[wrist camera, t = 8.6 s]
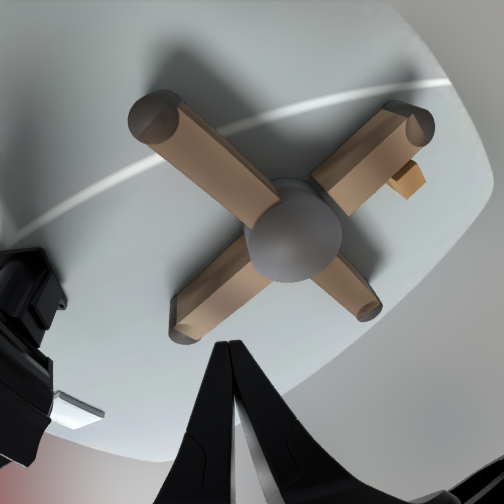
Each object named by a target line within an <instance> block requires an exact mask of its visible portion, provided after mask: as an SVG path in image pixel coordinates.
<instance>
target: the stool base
mask: <svg viewBox="0 0 504 504" xmlns="http://www.w3.org/2000/svg"><path fill="white" fill-rule="evenodd" d="M128 127H129V130H130V132H131V134H132V135H133V136H134V137H135V138H136V139H137V140H138V141H140V142H142V143H145V144H146V145H148V146H149V147H150V148H151V149H153V150H154V151H155V152H156V153H158V154H159V155H160V156H161V157H163V158H164V159H165V160H167V161H168V162H169V163H170V164H172V165H173V166H174V167H175V168H177V169H178V170H179V171H180V172H182V173H183V174H184V175H185V176H187V177H188V178H189V179H190V180H192V181H193V182H194V183H195V184H196V185H198V186H199V187H200V188H201V189H203V190H204V191H205V192H206V193H208V194H209V195H210V196H211V197H213V198H214V199H215V200H216V201H217V202H219V203H220V204H221V205H222V206H224V207H225V208H226V209H227V210H228V211H230V212H231V213H232V214H233V215H235V216H236V217H237V218H238V219H239V220H241V222H242V228H243V232H244V233H243V234H242V235H241V236H240V237H239V238H238V239H237V240H236V241H235V242H233V243H232V244H231V245H230V246H229V247H228V248H227V249H226V250H225V251H224V252H223V253H222V254H220V255H219V256H218V257H217V258H216V259H215V260H214V261H213V262H212V263H211V264H210V265H209V266H208V267H207V268H205V269H204V270H203V271H202V272H201V273H200V274H199V275H198V276H197V277H196V278H195V279H194V280H193V281H192V282H190V283H189V284H188V285H187V286H186V287H185V288H184V289H183V290H182V291H181V292H180V293H179V294H178V295H176V296H174V297H173V298H172V299H171V301H170V314H169V333H168V334H169V337H170V339H171V340H172V341H174V342H175V343H178V344H182V345H190V344H194V343H196V342H198V341H199V340H200V339H201V337H203V336H204V335H205V334H207V333H208V332H209V331H211V330H212V329H213V328H214V327H216V326H217V325H218V324H220V323H221V322H222V321H223V320H225V319H226V318H227V317H229V316H230V315H231V314H232V313H234V312H235V311H236V310H238V309H239V308H240V307H241V306H243V305H244V304H245V303H246V302H248V301H249V300H250V299H251V298H253V297H254V296H255V295H256V294H258V293H259V292H260V291H261V290H263V289H264V288H265V287H266V286H268V285H269V284H270V283H271V282H273V281H277V282H284V283H291V282H298V281H302V280H306V279H308V278H310V279H312V280H313V281H314V282H315V283H316V284H317V285H319V286H320V287H321V288H322V289H323V290H325V291H326V292H327V293H328V294H329V295H330V296H332V297H333V298H334V299H335V300H336V301H338V302H339V303H340V304H341V305H342V306H343V307H345V308H346V309H347V310H348V311H349V312H350V313H352V314H353V315H354V316H355V317H356V318H357V320H358V321H360V322H367V321H370V320H372V319H374V318H375V317H376V316H377V315H378V314H379V313H380V312H381V310H382V307H383V305H382V303H381V301H380V300H379V298H378V296H377V295H376V293H375V292H374V290H373V289H372V287H371V286H370V284H369V283H368V281H367V280H366V278H364V277H363V276H362V275H361V274H360V273H359V272H358V271H357V270H356V269H355V268H354V267H353V265H352V264H351V263H350V262H349V261H348V260H347V259H346V258H345V257H344V256H343V255H342V253H341V252H340V251H339V249H340V246H341V243H342V226H341V223H340V221H339V219H338V217H337V215H336V214H335V213H334V212H333V210H332V209H331V208H330V207H329V206H328V204H327V203H326V202H325V201H324V200H323V198H322V197H321V196H320V195H319V194H318V192H317V191H316V190H315V189H314V188H313V187H312V186H311V185H309V184H308V183H306V182H304V181H302V180H299V179H294V178H280V179H275V180H272V181H270V180H269V179H268V178H267V177H266V176H265V175H264V174H263V173H261V172H260V171H259V170H258V169H257V168H256V167H255V166H254V165H253V164H252V163H251V162H250V161H249V160H248V159H247V158H245V157H244V156H243V155H242V154H241V153H240V152H239V151H238V150H237V149H236V148H235V147H234V146H232V145H231V144H230V143H229V142H228V141H227V140H226V139H225V138H224V137H222V136H221V135H220V134H219V133H218V132H217V131H216V130H215V129H213V128H212V127H211V126H210V125H209V124H208V123H207V122H205V121H204V120H203V119H202V118H201V117H200V116H198V115H197V114H196V113H195V112H194V111H193V110H191V109H190V108H189V107H188V106H187V105H186V104H184V103H183V102H182V101H181V99H180V98H179V97H178V96H177V95H176V94H175V93H173V92H171V91H167V90H161V91H156V92H154V93H151V94H149V95H146V96H144V97H142V98H140V99H139V100H138V101H136V102H135V104H134V105H133V106H132V108H131V109H130V112H129V115H128ZM424 183H426V181H425V178H424V176H423V174H422V172H421V170H420V168H419V166H418V164H417V163H416V162H414V161H413V160H411V159H410V160H409V161H408V162H407V163H406V164H405V165H404V166H403V167H402V168H401V169H400V170H398V171H397V172H396V173H395V174H394V175H393V176H392V177H391V178H390V179H389V180H388V181H387V182H386V184H388V185H389V186H390V187H391V188H393V189H394V190H395V191H396V192H398V193H399V194H400V195H401V196H403V197H404V198H405V199H406V200H407V199H408V198H409V197H410V196H412V195H413V194H414V193H415V192H416V191H417V190H418V189H419V188H420V187H421V186H422V185H423V184H424Z"/></svg>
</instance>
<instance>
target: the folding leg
mask: <svg viewBox="0 0 504 504" xmlns="http://www.w3.org/2000/svg"><path fill="white" fill-rule="evenodd" d="M434 132H435V122H434V119H433V116H432V115H431V113H430V112H429V111H427V110H426V109H423V108H420V107H417V106H413V105H410V104H407V103H404V102H400V101H397V100H392V101H389V102H387V103H386V104H385V105H384V106H383V108H382V109H381V110H380V111H379V112H378V113H377V114H376V115H374V116H373V117H372V118H371V119H370V120H369V121H368V122H367V123H366V124H365V125H363V126H362V127H361V128H360V129H359V130H358V131H357V132H356V133H355V134H354V135H352V136H351V137H350V138H349V139H348V140H347V141H346V142H345V143H344V144H343V145H342V146H340V147H339V148H338V149H337V150H336V151H335V152H334V153H333V154H332V155H331V156H330V157H328V158H327V159H326V160H325V161H324V162H323V163H322V164H321V165H320V166H319V167H318V168H317V169H315V170H314V171H313V172H312V173H311V175H312V177H313V178H314V179H315V180H316V181H317V182H318V183H319V184H320V185H321V186H322V187H323V188H324V189H325V191H326V192H327V193H328V194H329V195H330V196H331V197H332V198H333V199H334V200H335V202H336V203H337V204H338V205H339V206H340V207H341V208H342V210H343V211H344V212H345V213H346V214H347V215H348V216H350V215H351V214H352V213H353V212H354V211H355V210H356V209H357V208H359V207H360V206H361V205H362V204H363V203H364V202H365V201H366V200H367V199H368V198H369V197H371V196H372V195H373V194H374V193H375V192H376V191H377V190H378V189H379V188H380V187H381V186H382V185H384V184H385V183H386V182H387V181H388V180H389V179H390V178H391V177H392V176H393V175H394V174H395V173H396V172H397V171H398V170H400V169H401V168H402V167H403V166H404V165H405V164H406V163H407V162H408V161H409V160H410V159H411V158H412V157H413V156H414V155H415V154H416V153H417V152H418V151H419V150H420V149H421V148H422V147H424V146H426V145H427V144H428V143H429V142H430V141H431V140H432V138H433V135H434Z"/></svg>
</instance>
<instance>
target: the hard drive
mask: <svg viewBox="0 0 504 504" xmlns="http://www.w3.org/2000/svg"><path fill="white" fill-rule="evenodd" d="M104 416H105V413H103V412H101V411H99V410H96V409H94V408H92V407H90V406H87V405H85V404H83V403H81V402H79V401H77V400H75V399H73V398H71V397H69V396H67V395H65V394H63V393H61V392H58V393H57V394H55V395H54V401H53V409H52V412H51V415H50V418H51V420H53V421H55V422H58V423H60V424H62V425H64V426H66V427H69V428H71V429H77V428H79V427H82V426H85V425H87V424H90V423H92V422H95V421H98V420H100V419H103V418H104Z"/></svg>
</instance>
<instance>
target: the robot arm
mask: <svg viewBox="0 0 504 504" xmlns="http://www.w3.org/2000/svg"><path fill="white" fill-rule="evenodd" d="M38 253H39V254H40V255H39V254H38ZM66 307H67V302H66V300H65V298H64V296H63V293H62V291H61V289H60V287H59V285H58V282H57V280H56V278H55V276H54V273H53V271H52V269H51V267H50V264H49V262H48V259H47V257H46V254H45V252H44V250H43V249H42V248H29V249H20V250H12V251H3V252H0V469H1V468H3V467H4V466H6V465H8V464H10V463H12V462H15V463H17V464H19V465H22V466H23V467H29V466H30V464H31V463H32V462H33V461H34V460H35V458H36V454H37V450H38V446H39V442H40V439H41V437H42V435H43V433H44V431H45V429H46V428H47V427H48V425H49V424H50V423H51V418H50V415H51V412H52V409H53V401H54V392H53V361H52V360H51V359H50V358H49V357H46V356H45V355H44V354H43V353H42V352H41V351H40V350H39V349H37V348H40V345H41V342H42V339H43V336H44V334H45V331H46V330H49V328H50V326H51V323H52V321H53V318H54V316H55V313H56V310H65V309H66ZM234 397H235V402H236V406H237V410H238V413H239V417H240V420H241V424H242V427H243V431H244V434H245V437H246V441H247V444H248V447H249V450H250V454H251V457H252V460H253V463H254V466H255V469H256V472H257V475H258V478H259V481H260V484H261V487H262V490H263V493H264V496H265V499H266V502H267V504H504V455H503V456H501V457H499V458H498V459H496V460H494V461H493V462H491V463H489V464H487V465H485V466H484V467H482V468H481V469H480V470H478V471H476V472H475V473H473V474H472V475H470V476H469V477H467V478H466V479H464V480H463V481H461V482H460V483H458V484H457V485H456V486H454V487H453V488H451V489H449V490H448V491H446V490H441V491H438V492H435V493H432V494H430V495H427V496H424V497H421V498H418V499H415V500H412V501H409V502H406V501H403V500H401V499H398V498H396V497H393V496H391V495H389V494H386V493H384V492H382V491H380V490H378V489H375V488H373V487H371V486H369V485H367V484H365V483H363V482H361V481H360V480H358V479H357V478H355V477H354V476H353V475H352V474H350V473H349V472H348V471H347V470H346V469H345V468H343V467H342V466H341V465H340V464H339V463H338V462H337V461H336V460H335V459H334V458H332V456H330V455H329V454H328V453H327V452H326V451H325V450H324V449H323V448H322V447H321V446H320V445H319V444H318V443H317V442H316V441H315V440H314V438H313V437H312V436H311V435H310V434H309V433H308V431H307V430H306V429H305V428H304V426H303V425H302V424H301V423H300V421H299V420H296V419H297V417H296V416H295V415H294V413H293V412H292V411H291V409H290V408H289V407H288V405H287V404H286V403H285V401H284V400H283V399H282V397H281V396H280V394H279V393H278V392H277V390H276V389H275V388H274V386H273V385H272V383H271V382H270V381H269V379H268V378H267V376H266V375H265V374H264V372H263V371H262V369H261V368H260V367H259V365H258V364H257V362H256V361H255V359H254V358H253V356H252V355H251V354H250V352H249V351H248V349H247V348H246V346H245V345H244V343H243V342H242V341H241V340H231V341H229V342H227V341H219V342H216V343H215V344H214V347H213V350H212V353H211V356H210V359H209V362H208V365H207V368H206V371H205V374H204V377H203V380H202V383H201V386H200V389H199V392H198V395H197V398H196V401H195V404H194V407H193V410H192V413H191V416H190V419H189V423H188V426H187V429H186V432H185V434H184V437H183V440H182V443H181V446H180V449H179V451H178V454H177V457H176V459H175V461H174V463H173V465H172V468H171V470H170V472H169V474H168V476H167V478H166V480H165V481H164V483H163V485H162V488H161V489H160V491H159V493H158V495H157V497H156V499H155V501H154V502H153V504H236V502H235V402H234Z"/></svg>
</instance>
